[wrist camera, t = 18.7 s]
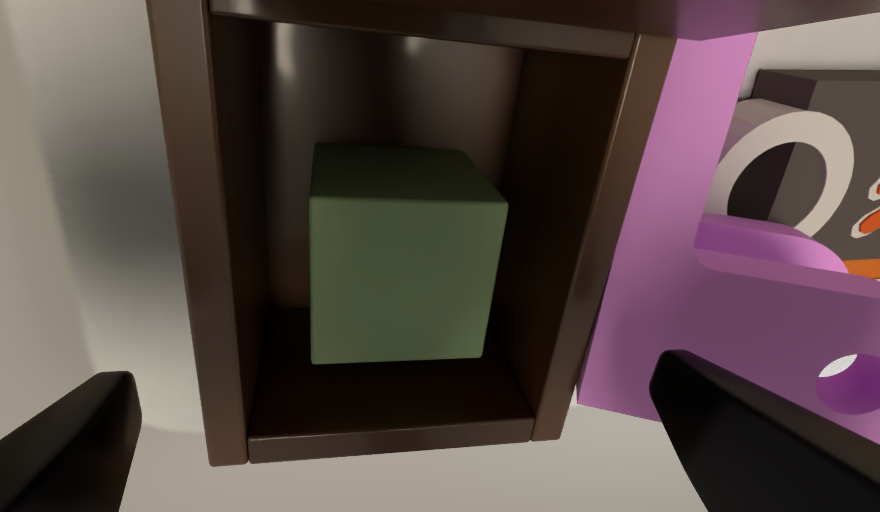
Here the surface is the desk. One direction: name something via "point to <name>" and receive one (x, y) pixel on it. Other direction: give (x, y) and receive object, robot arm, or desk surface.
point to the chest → (408, 126)
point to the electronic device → (808, 160)
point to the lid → (662, 14)
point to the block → (400, 254)
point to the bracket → (725, 272)
